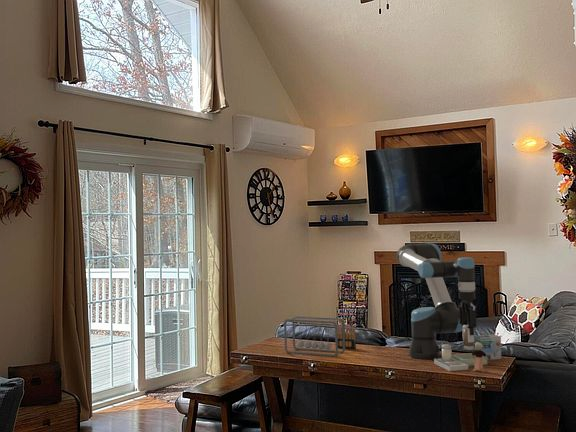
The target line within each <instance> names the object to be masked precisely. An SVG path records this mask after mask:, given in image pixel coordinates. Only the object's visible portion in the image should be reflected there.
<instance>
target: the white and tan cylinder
mask: <svg viewBox="0 0 576 432" xmlns="http://www.w3.org/2000/svg"><path fill="white" fill-rule="evenodd" d="M467 327H469V326H468V325H463V330H462V339H463V338H464V340H463V350H466V351H472V350H473V351H474V350H475V342H468V328H467Z"/></svg>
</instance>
